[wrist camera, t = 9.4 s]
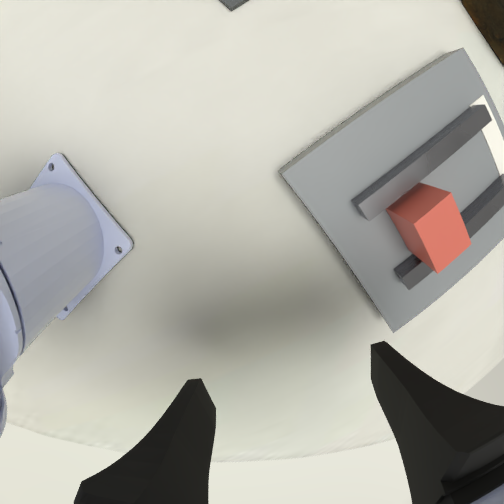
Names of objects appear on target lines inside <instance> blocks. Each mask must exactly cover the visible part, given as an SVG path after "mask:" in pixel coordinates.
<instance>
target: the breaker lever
mask: <svg viewBox="0 0 504 504" xmlns="http://www.w3.org/2000/svg"><path fill="white" fill-rule="evenodd" d="M386 211H387V212H388V214H389V216H390V217H391V219H392V221H393V223H394V224H395V226H396V228H397V230H398V231H399V233H400V235H401V237H402V239H403V240H404V242H405V244H406V246H407V248H408V250H409V251H410V252H411V253H413V254H414V255H415V256H416V257H418V258H419V259H420V260H421V261H423V262H424V263H425V264H426V265H427V266H429V267H430V268H431V269H432V270H433V271H435V272H436V273H437V274H438V273H439V272H441V271H442V270H443V269H444V268H445V267H446V266H448V265H449V264H450V263H451V262H452V261H453V260H454V259H456V258H457V257H458V256H459V255H460V254H461V253H462V252H463V251H465V250H466V249H467V248H468V247H469V246H470V245H471V241H470V238H469V235H468V232H467V230H466V227H465V225H464V222H463V219H462V217H461V214H460V212H459V210H458V207H457V205H456V202H455V200H454V198H453V196H452V193H451V192H448V191H445V190H442V189H439V188H436V187H433V186H430V185H427V184H424V183H420V182H419V183H418V184H416V185H415V186H414V187H413V188H412V189H410V190H409V191H408V192H407V193H405V194H404V195H403V196H402V197H400V198H399V199H398V200H396V201H395V202H394V203H393V204H391V205H390V206H389V207H388V208H386Z"/></svg>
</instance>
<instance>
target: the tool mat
mask: <svg viewBox="0 0 504 504" xmlns="http://www.w3.org/2000/svg"><path fill="white" fill-rule="evenodd" d="M220 1H221V2H222V3H223V4H224V5H225V6H226V7H228V8H229V9H230V10H231V11H232V10H234V9H235V8H237V7H238V6H240V5H242V4H243V3H245V2H247V1H248V0H220Z"/></svg>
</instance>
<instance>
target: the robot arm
mask: <svg viewBox="0 0 504 504" xmlns="http://www.w3.org/2000/svg"><path fill="white" fill-rule="evenodd" d="M52 164H54V170H52ZM117 246H119V247H121V249H122V252H119V251H118V249H117ZM132 247H133V242H132V240H131V238H130V237H129V236H128V235H127V234H126V233H125V231H124V230H123V229H122V228H121V227H120V226H119V225H118V223H117V222H116V221H115V220H114V219H113V217H112V216H111V215H110V214H109V213H108V212H107V210H106V209H105V208H104V207H103V206H102V204H101V203H100V202H99V201H98V199H97V198H96V197H95V196H94V195H93V193H92V192H91V191H90V190H89V188H88V187H87V186H86V185H85V183H84V182H83V181H82V180H81V178H80V177H79V176H78V174H77V173H76V172H75V171H74V169H73V168H72V167H71V165H70V164H69V163H68V161H67V160H66V159H65V157H64V156H63V155H62V154H61V153H56V154H53V155H52V156H51V158H50V159H49V161H48V162H47V163H46V165H45V166H44V168H43V169H42V171H41V172H40V174H39V175H38V177H37V178H36V180H35V181H34V183H33V184H32V186H31V187H30V189H29V190H26V191H23V192H20V193H17V194H14V195H11V196H8V197H5V198H3V199H0V437H1V435H2V432H3V430H4V427H5V423H6V419H7V405H6V398H5V395H4V391H3V389H2V388H3V387H4V386H5V385H6V383H7V382H8V381H9V379H10V378H11V377H12V376H13V374H14V372H13V364H14V363H15V362H16V360H17V359H18V358H19V356H20V355H21V354H22V353H23V352H24V351H25V350H26V349H27V348H28V346H29V345H30V344H31V343H32V342H33V341H34V340H35V339H36V337H37V336H38V335H39V334H40V333H41V332H42V331H43V330H44V329H45V328H46V327H47V325H48V324H49V323H50V322H51V321H52V320H53V319H54V318H55V317H57V318H58V319H60V320H64V319H65V318H66V317H67V316H68V314H69V313H70V312H71V311H72V310H73V309H74V308H75V307H76V306H77V305H78V303H79V302H80V301H81V300H82V299H83V298H84V297H85V296H86V295H87V294H88V293H89V292H90V291H91V290H92V289H93V287H94V286H95V285H96V284H97V283H98V282H99V281H100V280H101V279H102V278H103V277H104V276H105V275H106V274H107V273H108V272H109V271H110V270H111V269H112V268H113V267H114V266H115V265H116V264H117V263H118V262H119V261H120V260H121V259H122V258H123V257H124V256H125V255H126V254H127V253H128V252H129V251H130V250H131V249H132ZM66 306H67V308H66ZM371 380H372V384H373V387H374V390H375V393H376V396H377V399H378V401H379V403H380V405H381V407H382V410H383V412H384V414H385V416H386V418H387V420H388V423H389V425H390V427H391V429H392V431H393V433H394V436H395V438H396V441H397V443H398V446H399V449H400V453H401V456H402V460H403V464H404V467H405V471H406V475H407V479H408V484H409V488H410V493H411V498H412V504H504V406H499V405H494V404H490V403H486V402H483V401H480V400H477V399H474V398H471V397H469V396H466V395H464V394H461V393H459V392H457V391H455V390H453V389H451V388H449V387H447V386H445V385H443V384H441V383H440V382H438V381H436V380H435V379H433V378H432V377H430V376H429V375H427V374H426V373H424V372H423V371H421V370H420V369H419V368H417V367H416V366H415V365H413V364H412V363H411V362H409V361H408V360H407V359H406V358H404V357H403V356H402V355H401V354H400V353H398V352H397V351H396V350H395V349H394V348H393V347H391V346H390V345H389V344H388V343H387V342H385V341H382V342H379V343H375V344H372V345H371ZM215 429H216V408H215V406H214V404H213V402H212V400H211V398H210V396H209V394H208V392H207V390H206V388H205V386H204V383H203V381H202V379H201V378H200V379H191V380H187V382H186V383H185V385H184V386H183V387H182V389H181V390H180V392H179V393H178V395H177V396H176V398H175V399H174V400H173V402H172V403H171V405H170V406H169V407H168V409H167V410H166V412H165V413H164V414H163V416H162V417H161V418H160V419H159V421H158V422H157V423H156V424H155V426H154V427H153V428H152V429H151V430H150V431H149V433H148V434H147V435H146V436H145V437H144V438H143V439H142V440H141V441H140V442H139V443H138V444H137V445H136V446H135V447H133V448H132V449H131V450H130V451H129V452H127V453H126V454H125V455H124V456H123V457H121V458H120V459H119V460H117V461H116V462H115V463H113V464H112V465H110V466H109V467H107V468H106V469H104V470H102V471H101V472H99V473H97V474H95V475H93V476H91V477H89V478H87V479H86V480H84V481H82V482H81V484H80V487H79V490H78V492H77V495H76V497H75V500H74V504H208V480H209V468H210V462H211V456H212V449H213V443H214V436H215Z"/></svg>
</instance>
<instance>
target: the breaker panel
mask: <svg viewBox="0 0 504 504" xmlns="http://www.w3.org/2000/svg"><path fill="white" fill-rule="evenodd" d="M278 171H279V172H280V174H281V175H282V176H283V177H284V179H285V180H286V181H287V183H288V184H289V185H290V186H291V188H292V189H293V190H294V192H295V193H296V194H297V195H298V197H299V198H300V199H301V201H302V202H303V203H304V205H305V206H306V207H307V209H308V210H309V211H310V213H311V214H312V215H313V217H314V218H315V219H316V221H317V222H318V223H319V225H320V226H321V227H322V229H323V230H324V232H325V233H326V234H327V236H328V237H329V238H330V240H331V241H332V243H333V244H334V245H335V247H336V248H337V250H338V251H339V252H340V254H341V255H342V257H343V258H344V260H345V261H346V262H347V264H348V265H349V267H350V268H351V270H352V271H353V273H354V274H355V276H356V277H357V278H358V280H359V281H360V283H361V284H362V286H363V287H364V289H365V290H366V292H367V293H368V295H369V296H370V298H371V299H372V301H373V302H374V304H375V306H376V307H377V309H378V310H379V312H380V313H381V315H382V316H383V318H384V319H385V321H386V322H387V324H388V326H389V327H390V329H391V330H392V332H393V333H394V332H395V331H397V330H398V329H400V328H401V327H402V326H404V325H405V324H406V323H408V322H409V321H410V320H412V319H413V318H414V317H416V316H417V315H418V314H420V313H421V312H422V311H423V310H425V309H426V308H427V307H428V306H430V305H431V304H432V303H433V302H435V301H436V300H437V299H438V298H439V297H441V296H442V295H443V294H444V293H445V292H447V291H448V290H449V289H450V288H451V287H453V286H454V285H455V284H456V283H457V282H458V281H459V280H461V279H462V278H463V277H464V276H465V275H466V274H467V273H468V272H469V271H470V270H472V269H473V268H474V267H475V266H476V265H477V264H478V263H479V262H480V261H481V260H482V259H483V258H484V257H485V256H486V255H487V254H488V253H489V252H490V251H491V250H492V249H493V248H494V247H495V246H496V245H497V244H498V243H499V242H500V241H501V240H502V239H503V238H504V125H503V122H502V120H501V118H500V116H499V113H498V111H497V109H496V107H495V105H494V102H493V100H492V98H491V96H490V94H489V92H488V90H487V88H486V86H485V84H484V83H483V81H482V79H481V77H480V75H479V73H478V72H477V70H476V68H475V66H474V65H473V63H472V61H471V60H470V58H469V56H468V55H467V53H466V51H465V50H464V48H461V49H458V50H455V51H452V52H449V53H446V54H444V55H443V56H441V57H440V58H438V59H436V60H435V61H433V62H432V63H430V64H429V65H427V66H425V67H424V68H422V69H421V70H419V71H418V72H416V73H415V74H413V75H412V76H410V77H408V78H407V79H405V80H404V81H402V82H401V83H399V84H398V85H396V86H395V87H393V88H392V89H390V90H389V91H388V92H386V93H385V94H383V95H382V96H380V97H379V98H377V99H376V100H374V101H373V102H371V103H370V104H369V105H367V106H366V107H364V108H363V109H361V110H360V111H359V112H357V113H356V114H354V115H353V116H351V117H350V118H349V119H347V120H346V121H344V122H343V123H342V124H340V125H339V126H337V127H336V128H335V129H333V130H332V131H331V132H329V133H328V134H326V135H325V136H324V137H322V138H321V139H320V140H318V141H317V142H316V143H314V144H313V145H312V146H310V147H309V148H307V149H306V150H305V151H303V152H302V153H301V154H299V155H298V156H297V157H295V158H294V159H293V160H292V161H290V162H289V163H288V164H286V165H285V166H284V167H282V168H281V169H280V170H278ZM419 182H420V183H424V184H427V185H430V186H433V187H436V188H439V189H442V190H445V191H448V192H451V193H452V196H453V198H454V200H455V202H456V205H457V207H458V210H459V212H460V214H461V217H462V219H463V222H464V225H465V227H466V230H467V232H468V235H469V238H470V241H471V245H470V246H469V247H468V248H467V249H466V250H465V251H463V252H462V253H461V254H460V255H459V256H458V257H457V258H456V259H454V260H453V261H452V262H451V263H450V264H449V265H448V266H446V267H445V268H444V269H443V270H442V271H441V272H439V273H438V274H437V273H436V272H435V271H433V270H432V269H431V268H430V267H429V266H427V265H426V264H425V263H424V262H423V261H421V260H420V259H419V258H418V257H416V256H415V255H414V254H413V253H411V252H410V251H409V250H408V248H407V246H406V244H405V242H404V240H403V239H402V237H401V235H400V233H399V231H398V230H397V228H396V226H395V224H394V223H393V221H392V219H391V217H390V216H389V214H388V212H387V211H386V208H388V207H389V206H390V205H391V204H393V203H394V202H395V201H396V200H398V199H399V198H400V197H402V196H403V195H404V194H405V193H407V192H408V191H409V190H410V189H412V188H413V187H414V186H415V185H416V184H418V183H419Z"/></svg>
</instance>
